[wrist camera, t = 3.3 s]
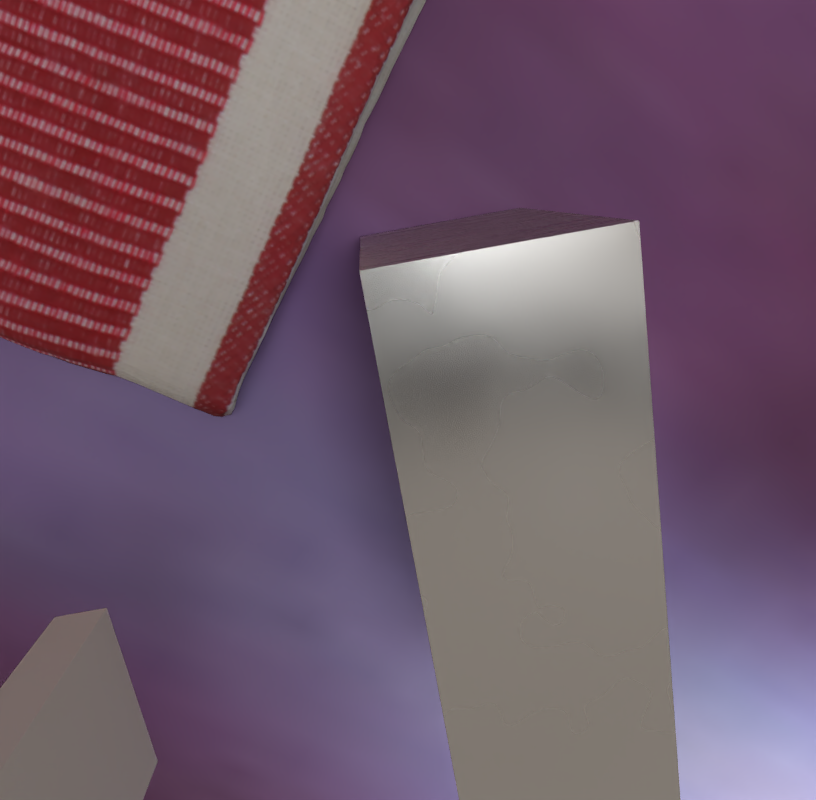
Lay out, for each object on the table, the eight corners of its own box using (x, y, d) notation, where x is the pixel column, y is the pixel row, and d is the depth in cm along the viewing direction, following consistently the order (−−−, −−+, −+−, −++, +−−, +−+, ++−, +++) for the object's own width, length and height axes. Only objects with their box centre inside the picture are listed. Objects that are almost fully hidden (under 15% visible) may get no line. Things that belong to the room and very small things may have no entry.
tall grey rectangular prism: (566, 596, 19) (681, 825, 12) (431, 620, 18) (471, 864, 12) (520, 207, 16) (639, 220, 9) (360, 236, 16) (358, 270, 9)
